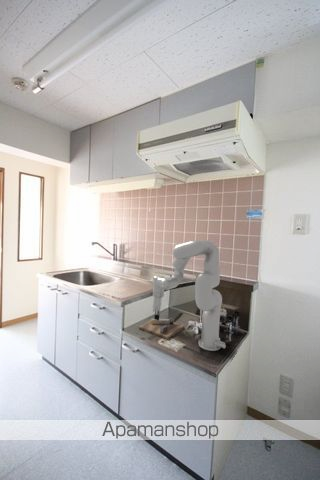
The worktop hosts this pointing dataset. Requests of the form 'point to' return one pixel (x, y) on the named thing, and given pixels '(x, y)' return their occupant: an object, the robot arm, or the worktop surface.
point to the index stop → (163, 329)
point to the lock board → (156, 327)
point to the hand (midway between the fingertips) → (156, 320)
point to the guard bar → (162, 321)
